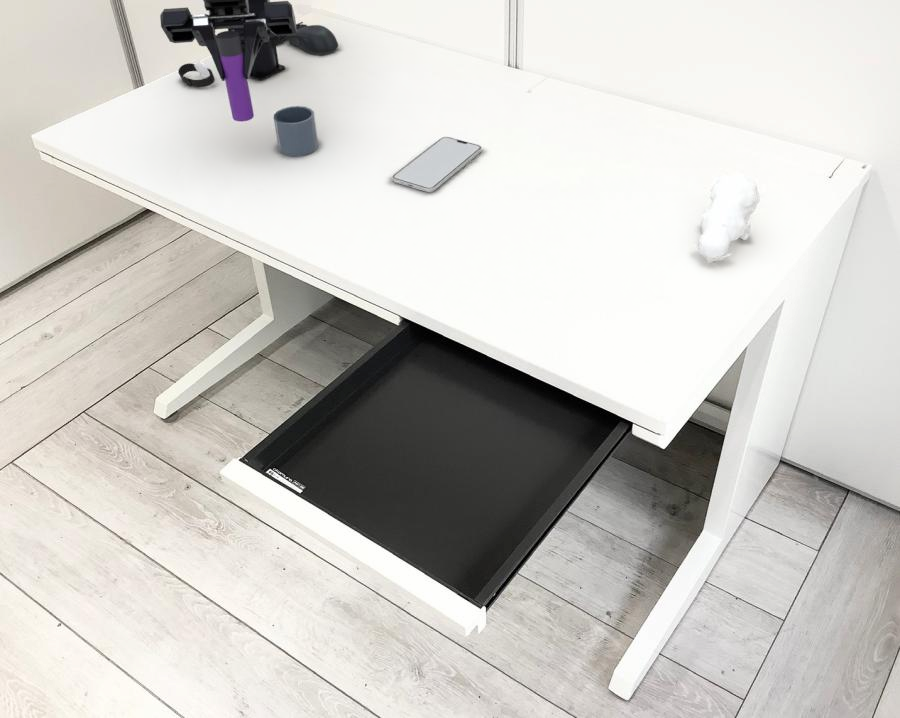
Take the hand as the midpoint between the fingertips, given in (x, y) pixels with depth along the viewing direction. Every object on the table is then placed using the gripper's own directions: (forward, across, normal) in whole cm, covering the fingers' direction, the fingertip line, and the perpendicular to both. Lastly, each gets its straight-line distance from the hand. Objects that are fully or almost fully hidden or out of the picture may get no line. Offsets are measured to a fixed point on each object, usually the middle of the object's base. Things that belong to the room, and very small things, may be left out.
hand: (234, 78), depth 129 cm
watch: (-13, -11, +32) cm, 37 cm away
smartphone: (+14, +29, +6) cm, 32 cm away
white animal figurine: (+33, +63, -14) cm, 73 cm away
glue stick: (+4, 0, +6) cm, 7 cm away
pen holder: (+7, +7, +12) cm, 16 cm away
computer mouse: (-23, +8, +42) cm, 49 cm away
